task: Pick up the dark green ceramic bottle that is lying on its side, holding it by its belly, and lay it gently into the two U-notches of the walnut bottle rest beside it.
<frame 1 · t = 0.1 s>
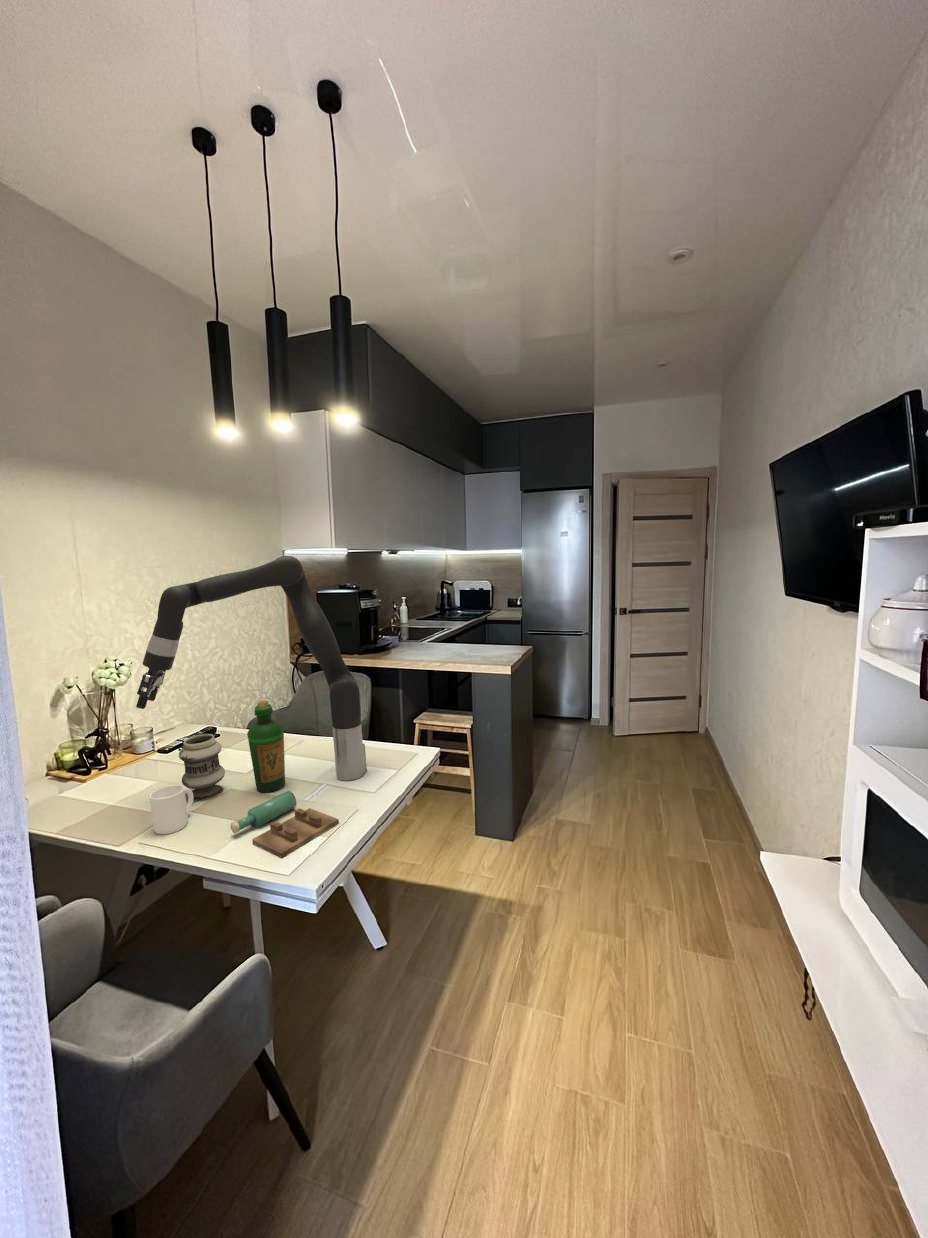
hand: (145, 704, 146), 31 cm above the table, tool tilted 20°, fingers open, 8 cm apart
bottle: (273, 817, 140), on the table
apothecary jar: (205, 793, 156), on the table
mug: (177, 824, 139), on the table
bottle 2: (271, 787, 158), on the table
bottle rest: (297, 833, 131), on the table
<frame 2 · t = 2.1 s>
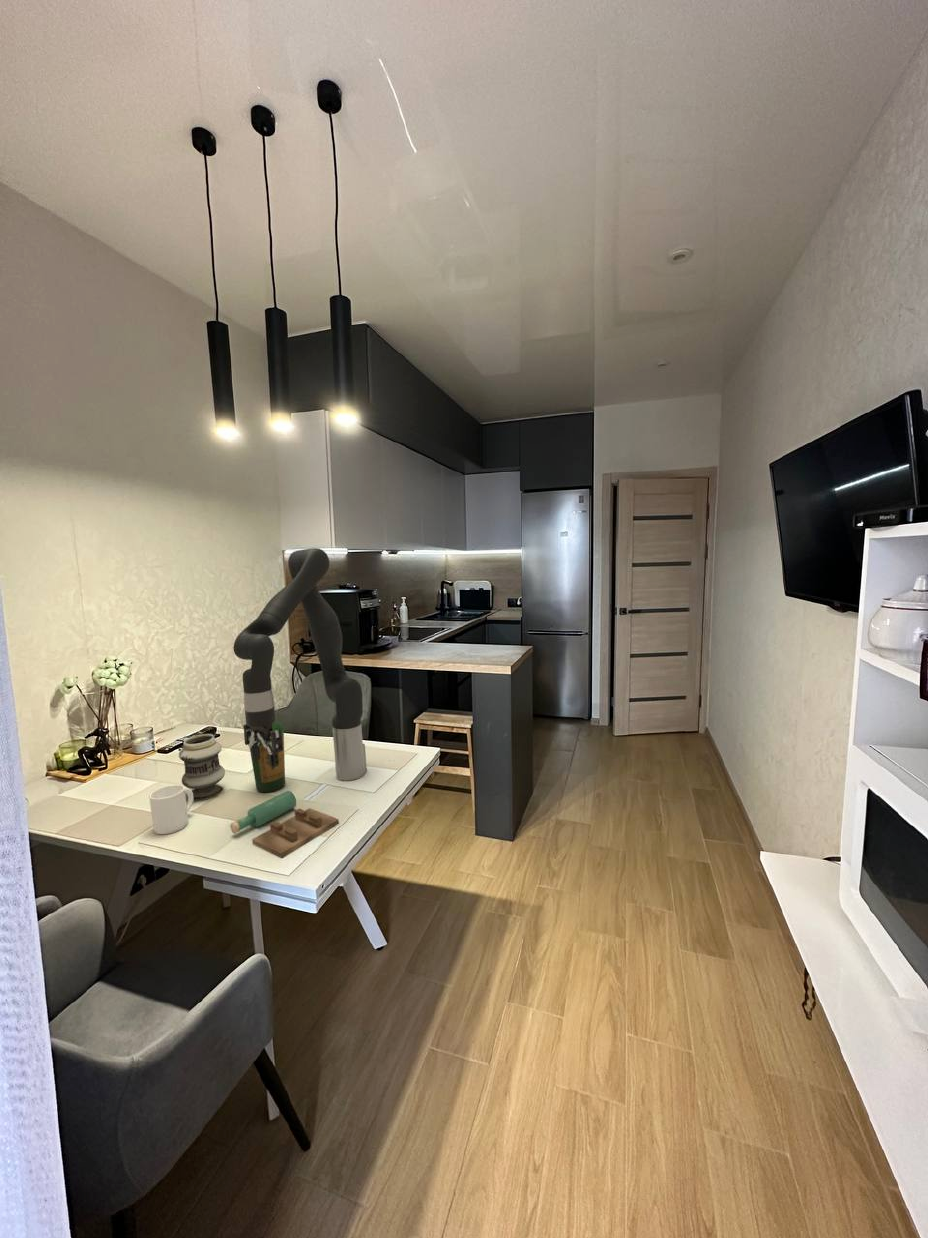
hand: (265, 763, 137), 16 cm above the table, tool pointing down, fingers open, 8 cm apart
nothing on the table moved.
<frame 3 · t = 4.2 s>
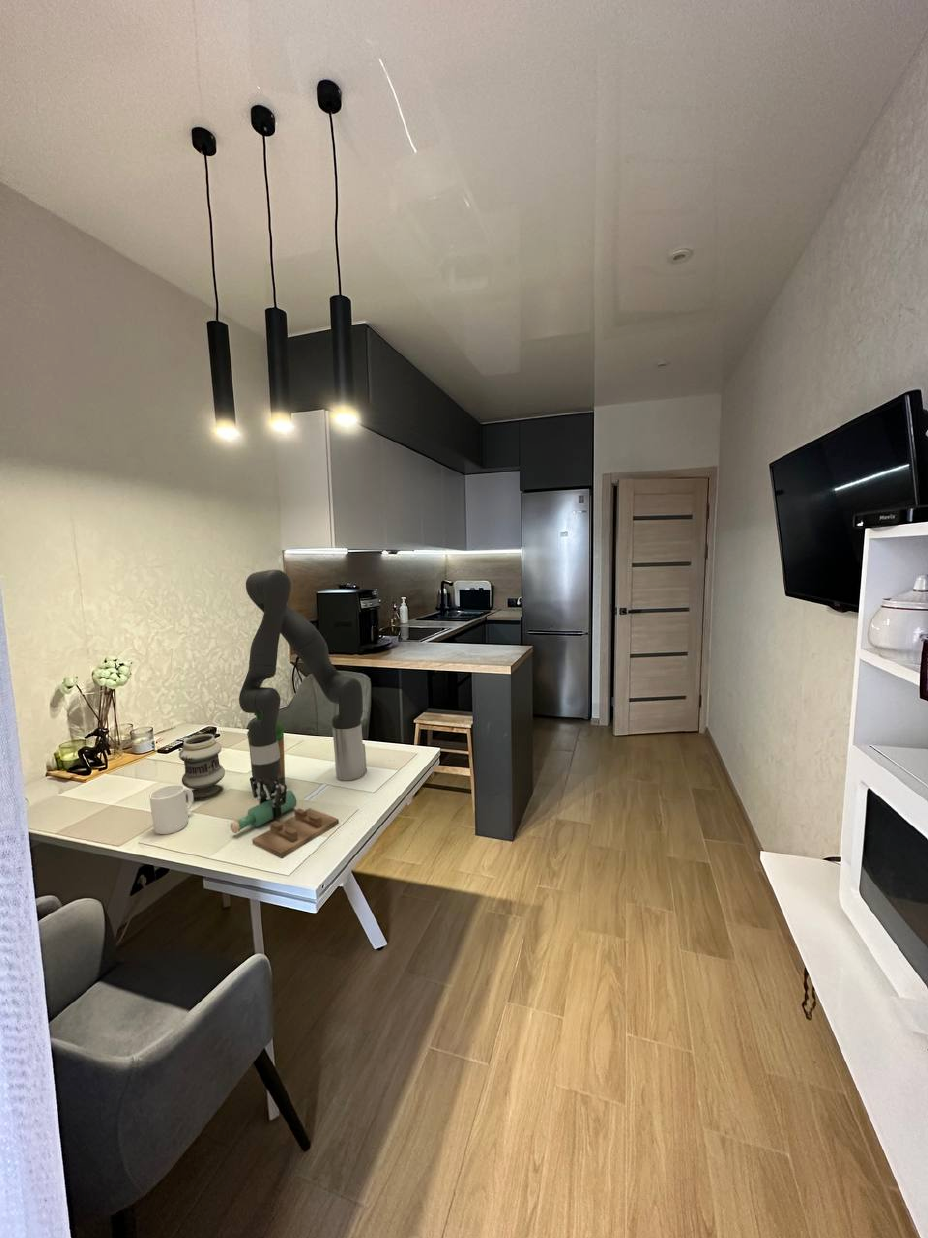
hand: (271, 815, 139), 1 cm above the table, tool pointing down, fingers closed on bottle, 5 cm apart
bottle: (273, 817, 140), on the table, touching gripper
everything else where it was.
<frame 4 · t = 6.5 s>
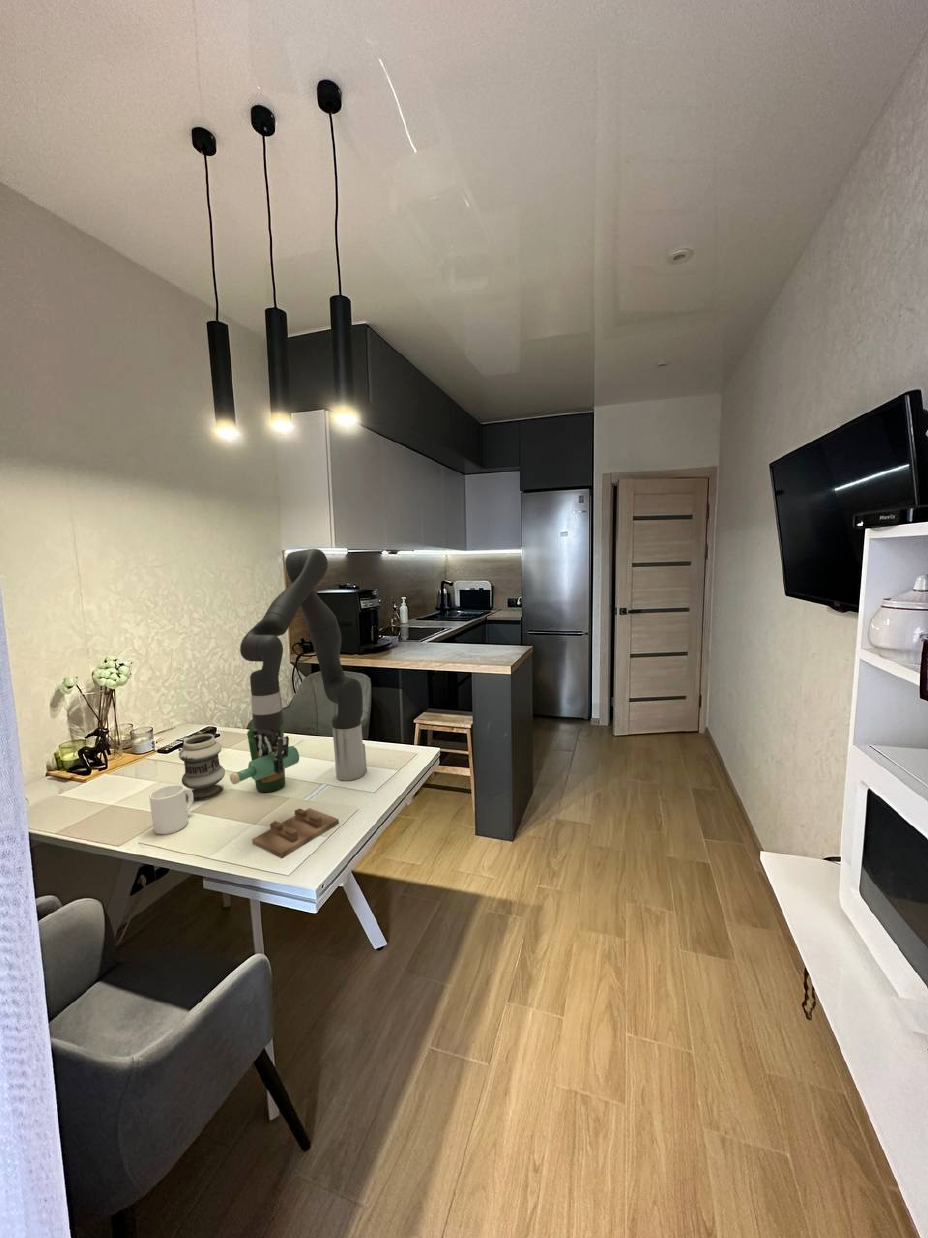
hand: (272, 769, 134), 16 cm above the table, tool pointing down, fingers closed on bottle, 5 cm apart
bottle: (275, 771, 134), point 15 cm above the table, touching gripper
everything else where it was.
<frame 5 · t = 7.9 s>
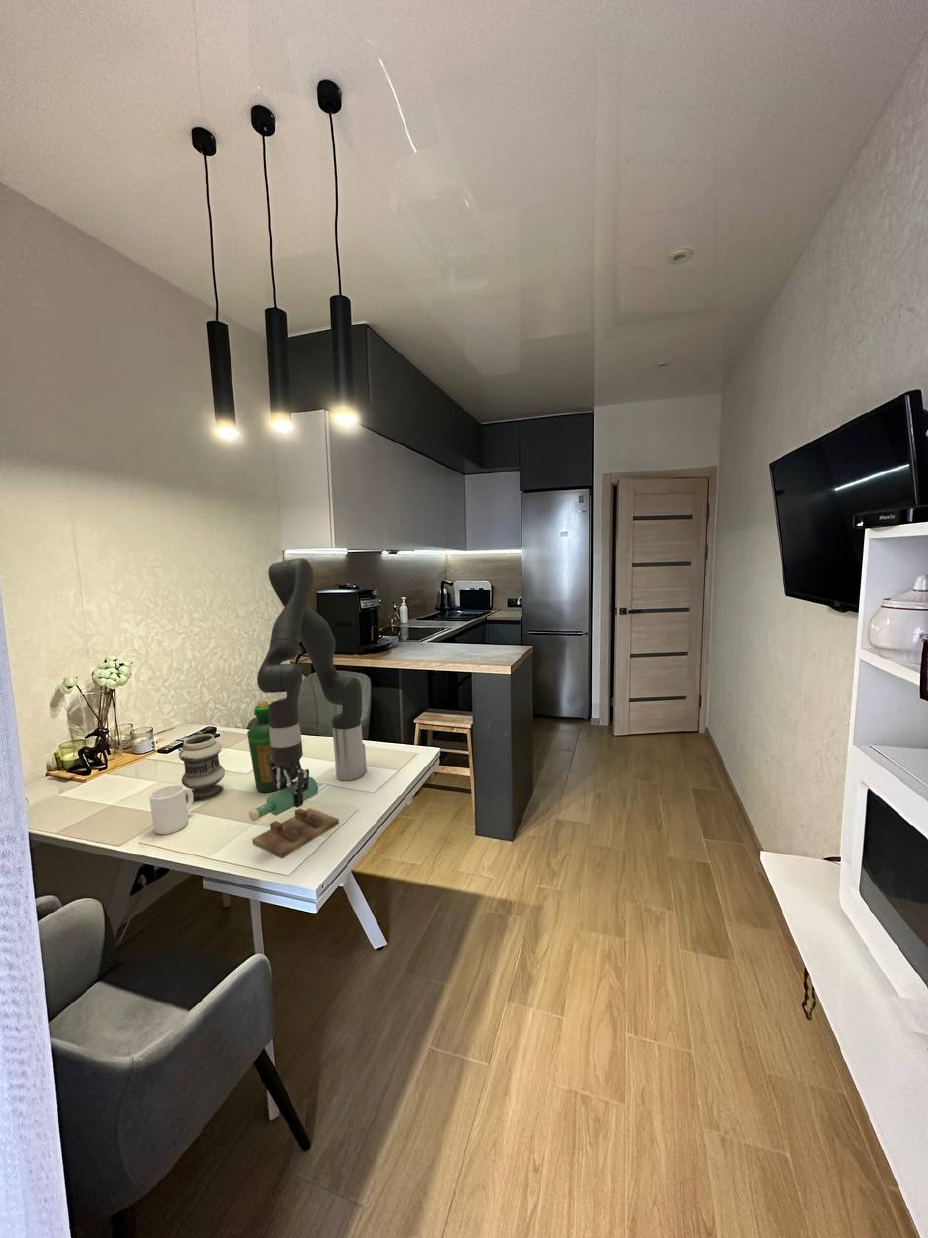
hand: (291, 803, 129), 9 cm above the table, tool pointing down, fingers closed on bottle, 5 cm apart
bottle: (294, 805, 130), point 8 cm above the table, touching gripper
everything else where it was.
when the fingers open (5 cm above the table, at t = 9.1 s): bottle stays where it is, resting on bottle rest.
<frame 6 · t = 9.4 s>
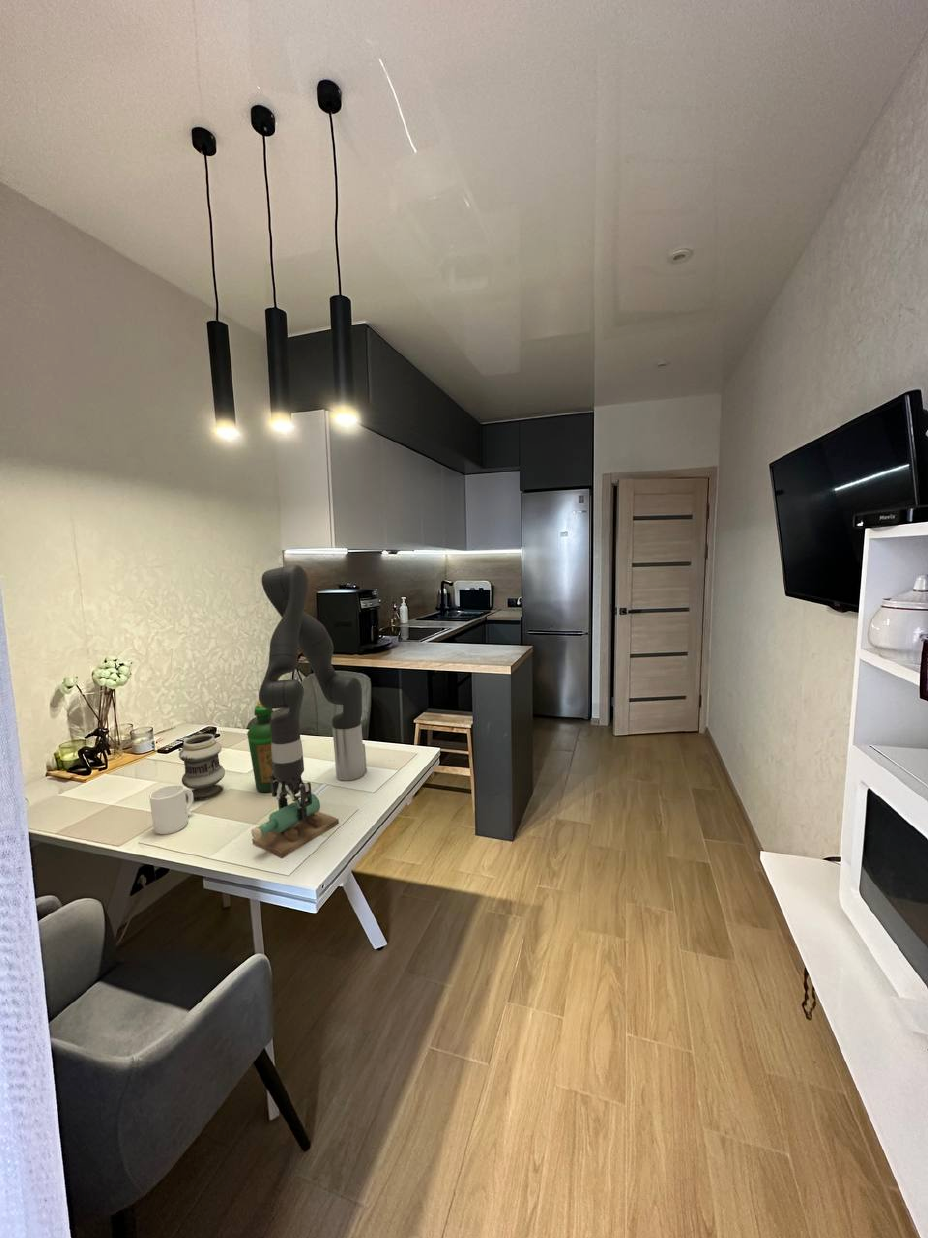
hand: (293, 816, 130), 5 cm above the table, tool pointing down, fingers open, 7 cm apart
bottle: (296, 822, 130), point 3 cm above the table, touching bottle rest
everything else where it was.
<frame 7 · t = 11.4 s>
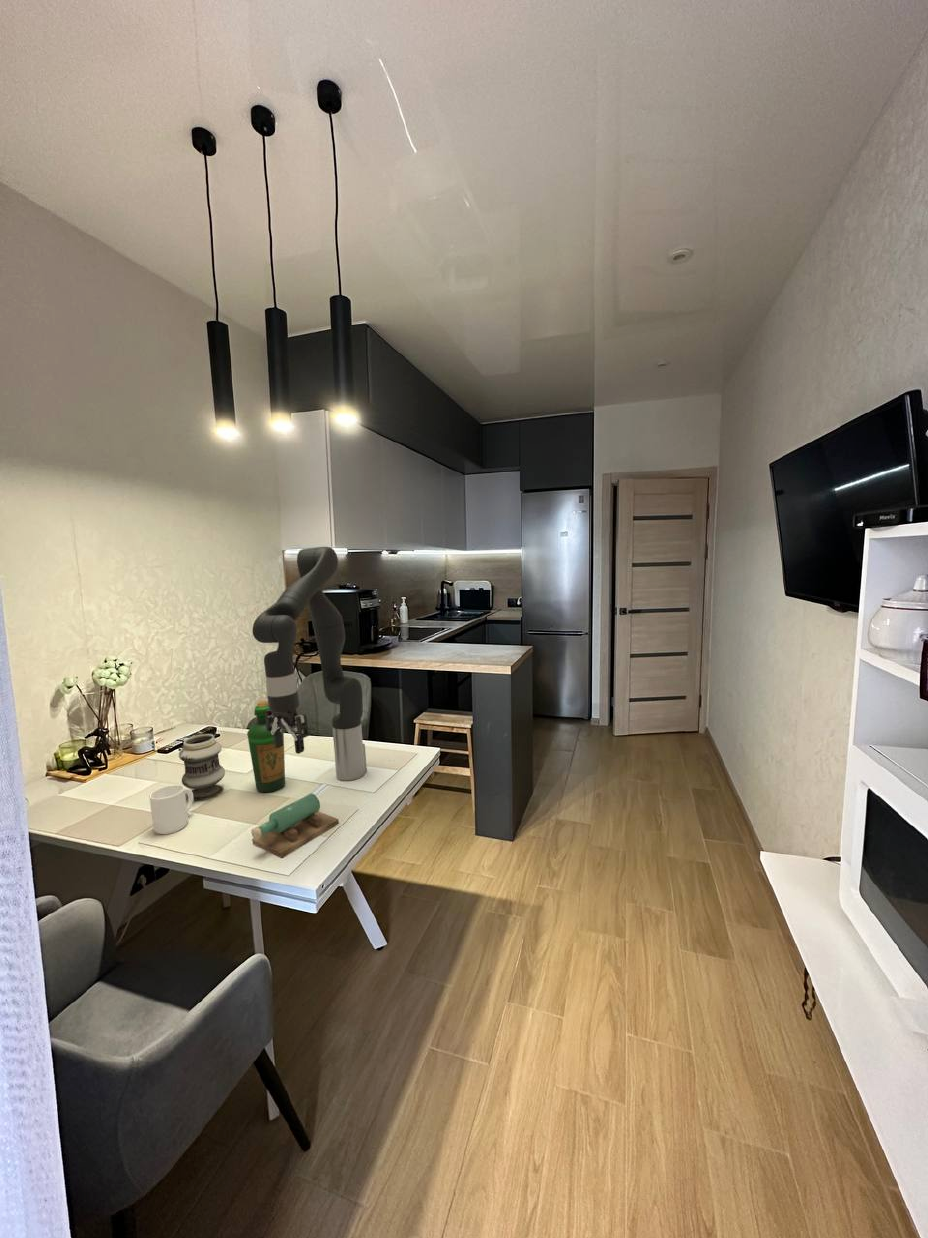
hand: (289, 749, 132), 21 cm above the table, tool pointing down, fingers open, 8 cm apart
nothing on the table moved.
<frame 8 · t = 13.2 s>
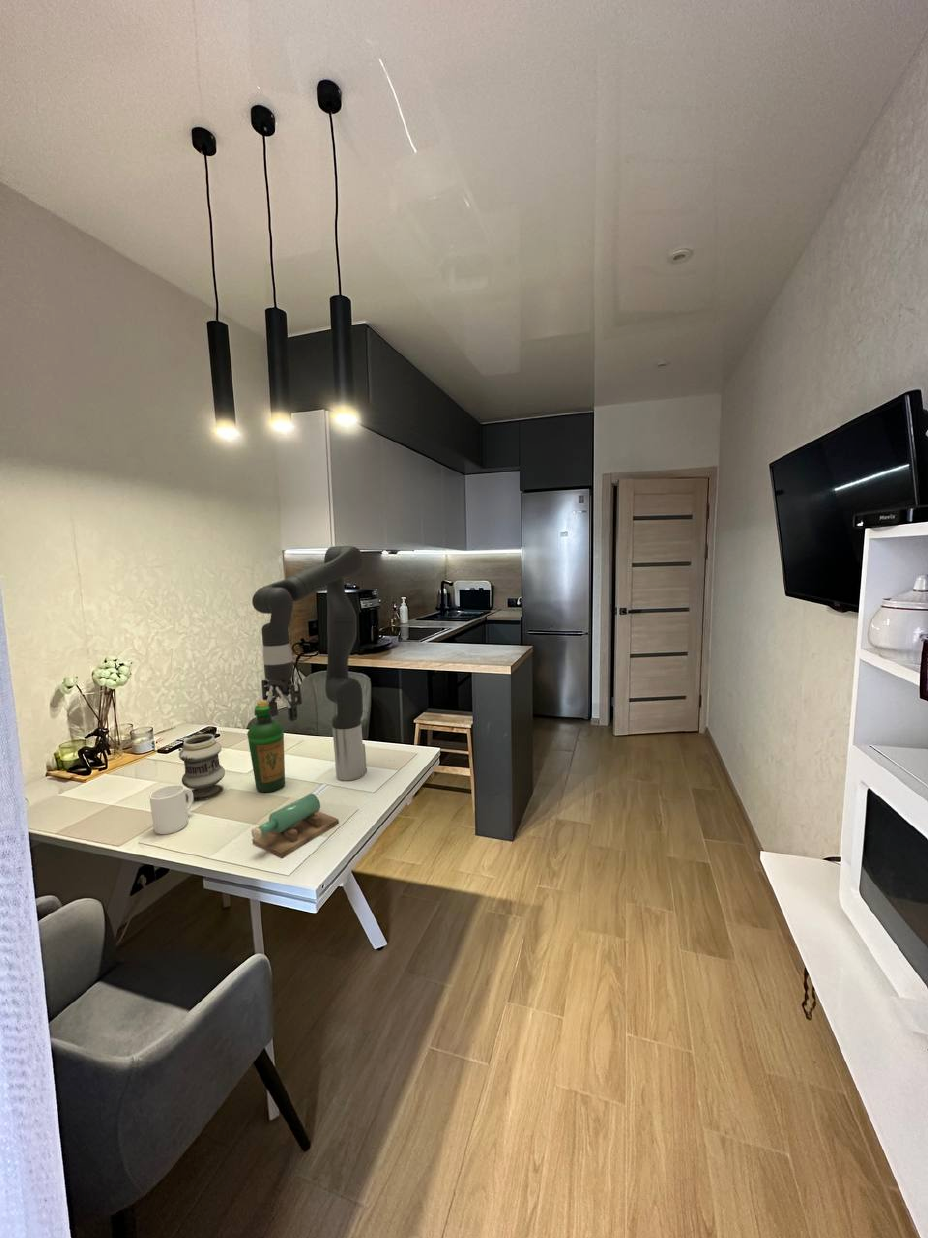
hand: (283, 717, 138), 28 cm above the table, tool pointing down, fingers open, 8 cm apart
nothing on the table moved.
at the end: bottle 0.0 cm off-centre on the bottle rest, point 3.1 cm above the bottle rest's base; bottle tilted 1°; the gripper is holding nothing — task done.
